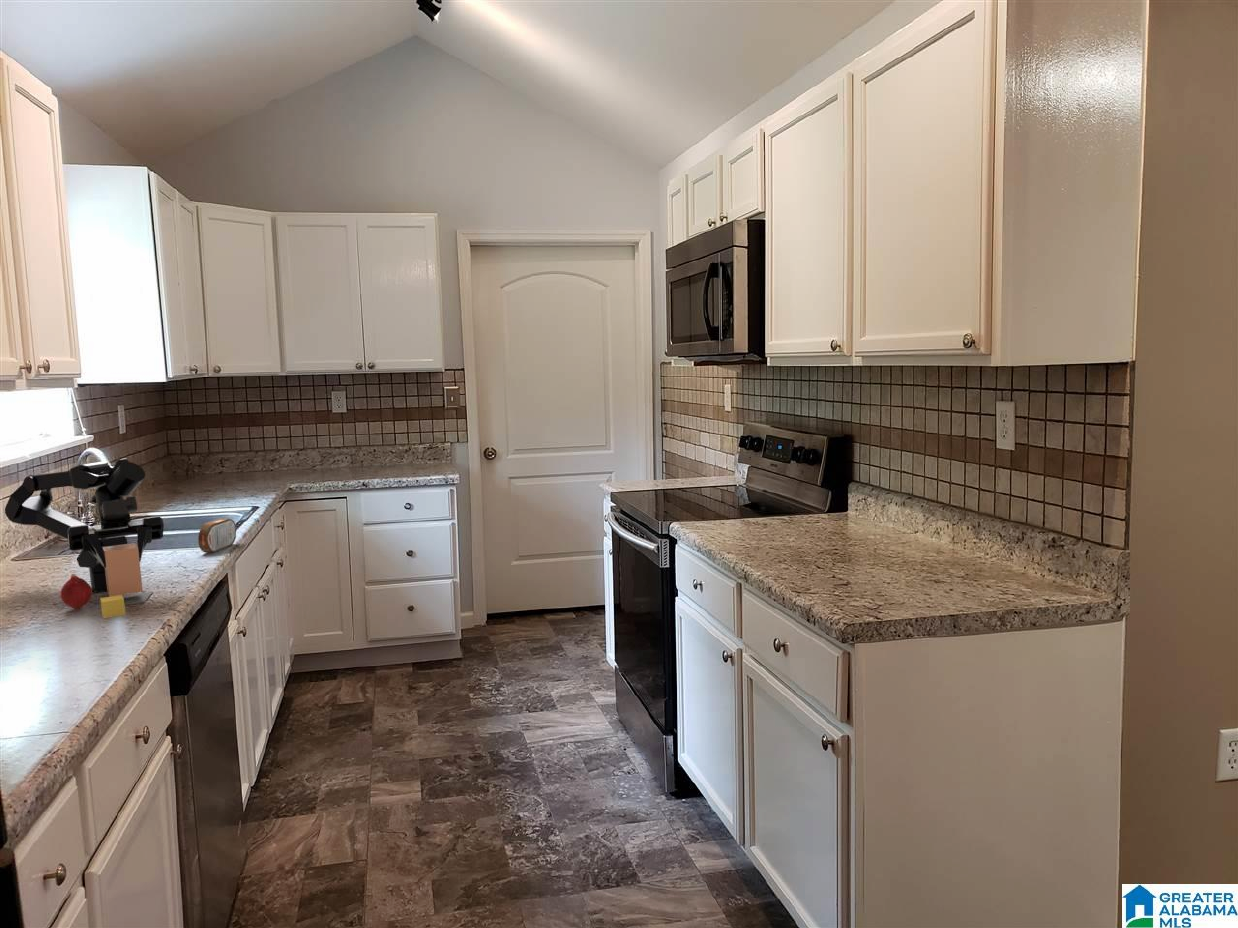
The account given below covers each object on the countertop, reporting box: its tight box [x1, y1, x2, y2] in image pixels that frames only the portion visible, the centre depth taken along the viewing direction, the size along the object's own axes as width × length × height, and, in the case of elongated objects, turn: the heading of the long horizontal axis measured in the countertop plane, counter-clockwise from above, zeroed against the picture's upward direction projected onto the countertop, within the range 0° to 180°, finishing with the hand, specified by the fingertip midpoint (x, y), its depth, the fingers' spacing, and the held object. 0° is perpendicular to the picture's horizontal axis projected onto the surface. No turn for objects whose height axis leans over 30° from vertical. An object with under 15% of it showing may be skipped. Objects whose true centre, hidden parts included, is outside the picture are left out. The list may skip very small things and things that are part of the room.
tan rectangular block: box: [102, 542, 144, 597], centre depth 201 cm, size 6×6×10 cm
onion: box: [59, 573, 93, 611], centre depth 195 cm, size 6×6×8 cm
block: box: [99, 595, 126, 619], centre depth 191 cm, size 4×4×4 cm
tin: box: [197, 517, 237, 554], centre depth 252 cm, size 15×3×8 cm, turn 172°
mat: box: [97, 591, 154, 609], centre depth 202 cm, size 9×9×1 cm
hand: (122, 563), depth 199 cm, fingers closed on tan rectangular block, 6 cm apart
